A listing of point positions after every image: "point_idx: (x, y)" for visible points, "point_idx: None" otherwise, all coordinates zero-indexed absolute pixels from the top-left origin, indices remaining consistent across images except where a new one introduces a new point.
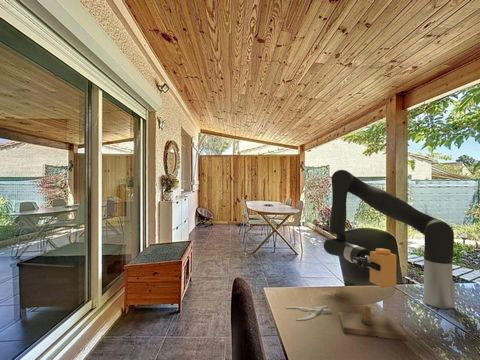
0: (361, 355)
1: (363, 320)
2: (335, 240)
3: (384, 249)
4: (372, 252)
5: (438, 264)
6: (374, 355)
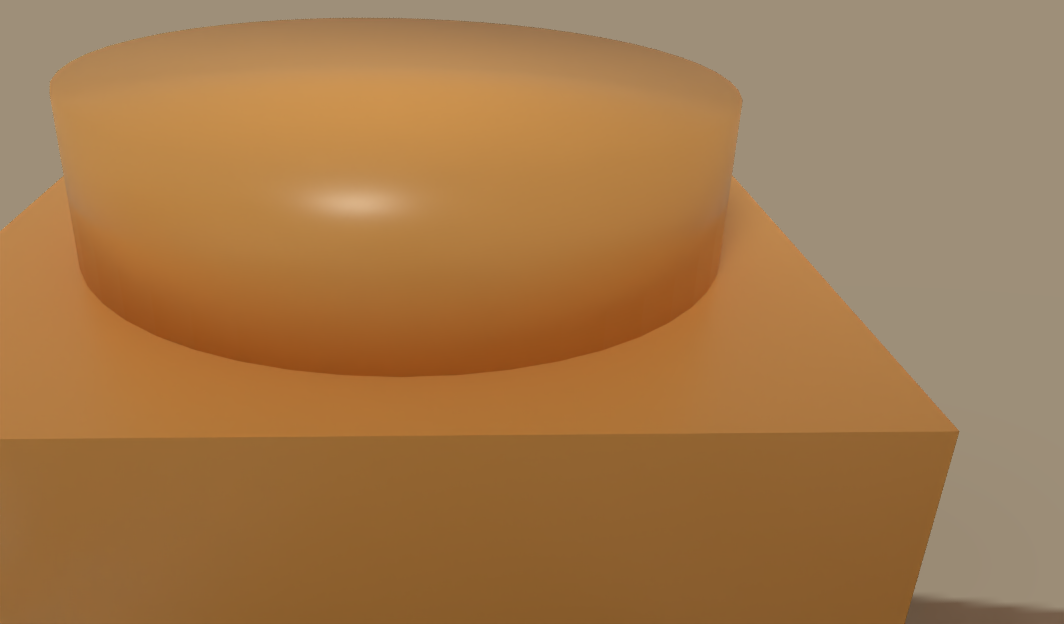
0: (1018, 606)
1: None
2: None
3: (277, 78)
4: (855, 336)
5: None
6: (922, 596)
